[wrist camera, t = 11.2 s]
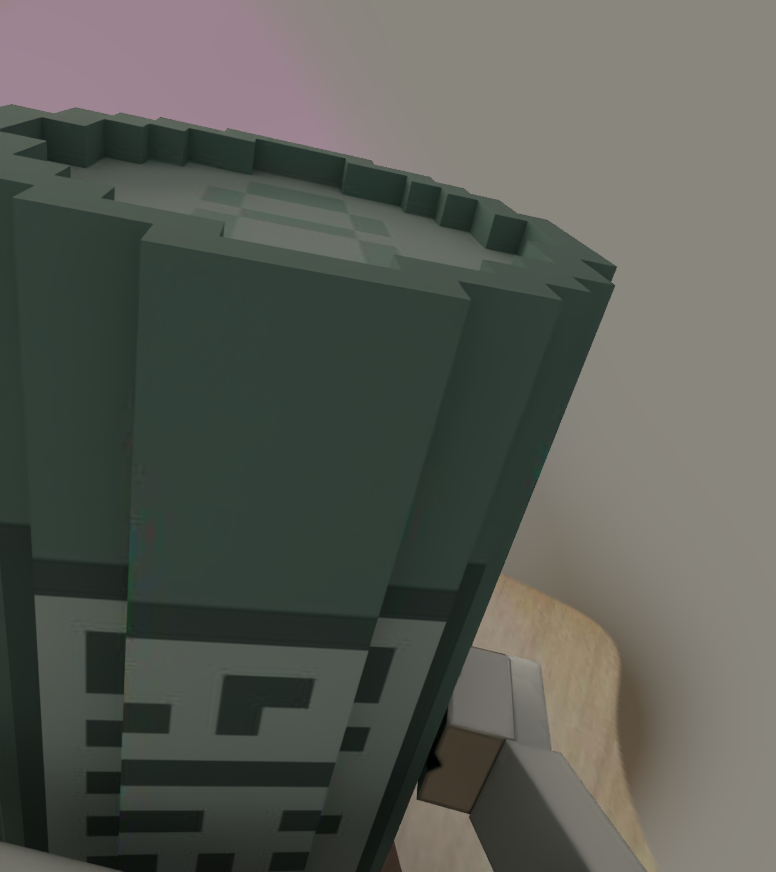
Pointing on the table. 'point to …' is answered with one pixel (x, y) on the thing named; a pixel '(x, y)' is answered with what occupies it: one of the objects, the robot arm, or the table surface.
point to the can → (253, 481)
